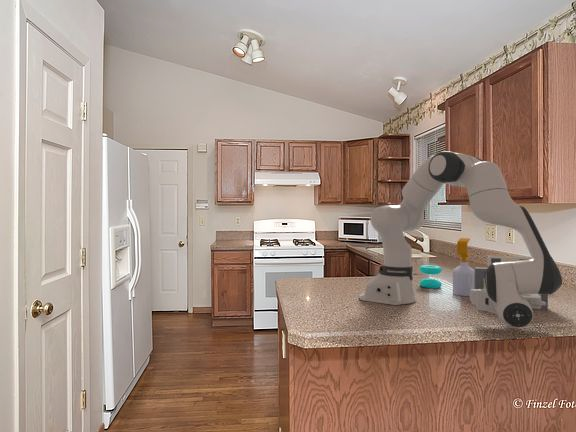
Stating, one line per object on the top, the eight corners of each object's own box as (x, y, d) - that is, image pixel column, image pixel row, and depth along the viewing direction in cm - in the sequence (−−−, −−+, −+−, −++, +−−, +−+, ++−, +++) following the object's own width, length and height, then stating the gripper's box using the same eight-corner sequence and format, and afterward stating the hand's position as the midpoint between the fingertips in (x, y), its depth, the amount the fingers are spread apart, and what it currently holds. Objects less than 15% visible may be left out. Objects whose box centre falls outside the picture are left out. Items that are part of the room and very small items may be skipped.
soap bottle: (478, 294, 161) (478, 238, 160) (471, 297, 154) (471, 239, 154) (456, 291, 167) (457, 237, 167) (449, 294, 160) (449, 238, 160)
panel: (475, 303, 144) (475, 255, 144) (474, 301, 147) (474, 254, 147) (547, 309, 135) (548, 258, 135) (545, 307, 138) (545, 257, 137)
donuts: (416, 264, 182) (436, 264, 182) (416, 284, 182) (436, 284, 182) (423, 267, 172) (445, 267, 172) (423, 288, 172) (445, 288, 172)
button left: (484, 289, 142) (484, 279, 142) (482, 286, 148) (482, 276, 148) (495, 290, 140) (495, 280, 140) (493, 287, 147) (493, 277, 147)
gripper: (547, 295, 109) (536, 286, 122) (471, 289, 117) (468, 282, 130) (547, 316, 109) (536, 305, 122) (471, 309, 117) (468, 299, 130)
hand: (500, 293), depth 126 cm, fingers closed
